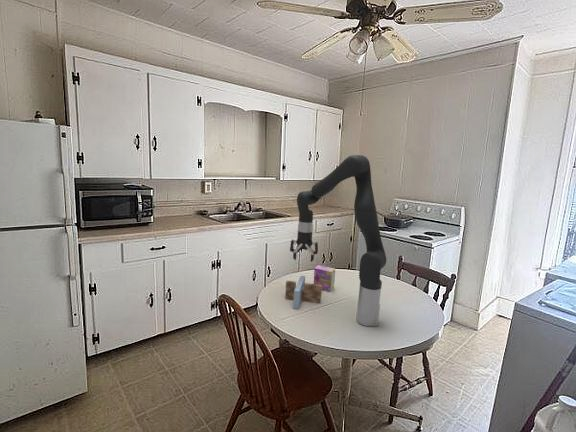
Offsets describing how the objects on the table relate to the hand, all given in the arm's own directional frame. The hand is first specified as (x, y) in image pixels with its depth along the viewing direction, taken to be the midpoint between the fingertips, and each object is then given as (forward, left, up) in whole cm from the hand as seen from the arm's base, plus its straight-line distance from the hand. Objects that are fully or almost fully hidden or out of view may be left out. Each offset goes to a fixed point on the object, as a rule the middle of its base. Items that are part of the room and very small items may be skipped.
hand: (303, 260), depth 162 cm
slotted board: (-2, +7, -19) cm, 20 cm away
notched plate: (0, +7, -19) cm, 20 cm away
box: (-11, -11, -19) cm, 24 cm away
